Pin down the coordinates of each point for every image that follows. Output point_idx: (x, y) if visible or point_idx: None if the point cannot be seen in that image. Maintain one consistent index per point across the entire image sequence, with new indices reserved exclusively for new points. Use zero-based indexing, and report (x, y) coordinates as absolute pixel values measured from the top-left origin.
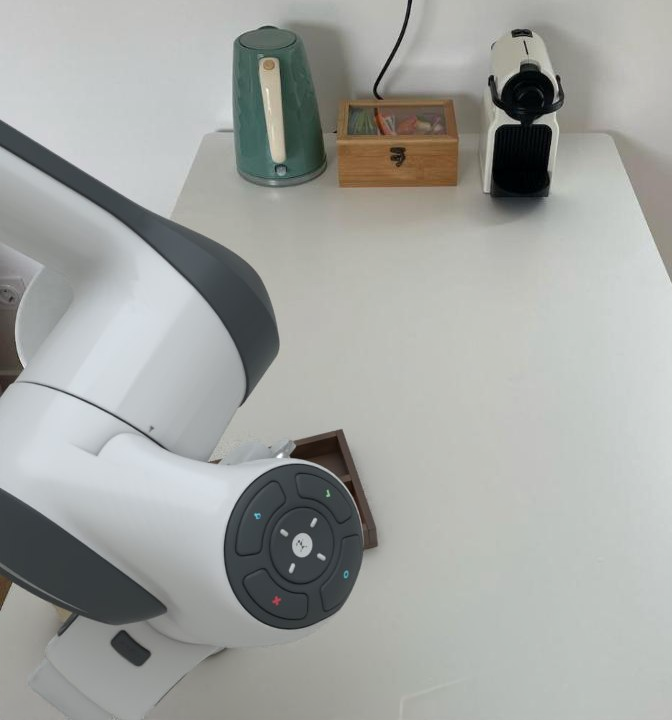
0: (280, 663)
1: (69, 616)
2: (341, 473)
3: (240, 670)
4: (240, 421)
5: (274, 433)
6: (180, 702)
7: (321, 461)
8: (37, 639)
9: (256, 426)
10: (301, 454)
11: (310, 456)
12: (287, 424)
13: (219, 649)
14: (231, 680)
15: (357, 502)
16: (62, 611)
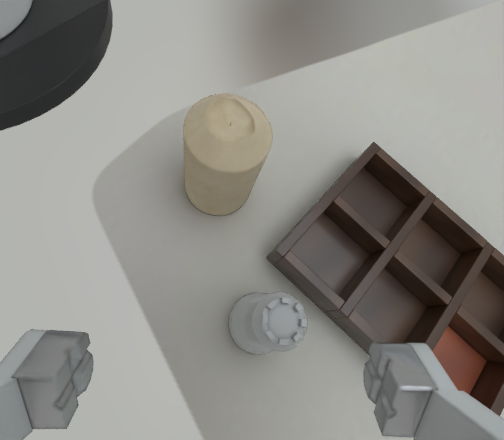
0: (270, 427)
1: (186, 177)
2: (497, 326)
3: (239, 386)
4: (469, 174)
5: (482, 217)
6: (175, 348)
7: (493, 293)
8: (162, 157)
9: (476, 193)
10: (490, 270)
11: (491, 278)
12: (499, 222)
13: (246, 350)
14: (224, 385)
15: (488, 383)
16: (184, 168)
